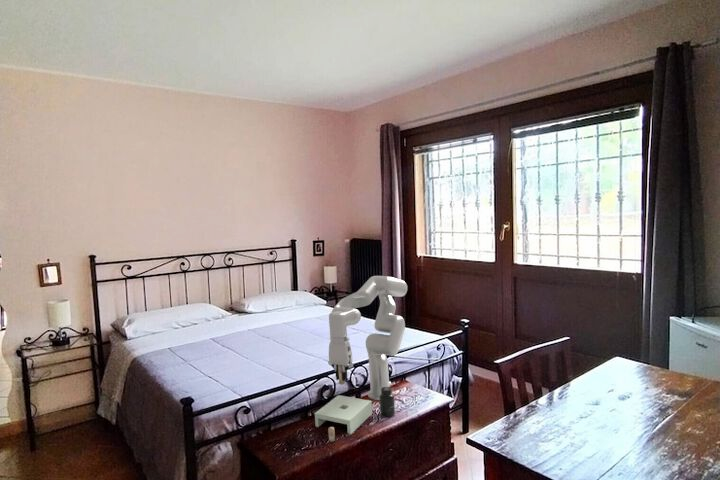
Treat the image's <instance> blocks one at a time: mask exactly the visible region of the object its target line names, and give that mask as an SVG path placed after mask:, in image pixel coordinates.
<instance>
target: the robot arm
mask: <svg viewBox="0 0 720 480" xmlns="http://www.w3.org/2000/svg"><path fill="white" fill-rule="evenodd" d="M407 292H408V284H407V282H405V280H403V279H399V278H396V277H393V276H388V275H385V276H384V275H373V276H370V277H369V278H368V279H367V281H365V283H364V284H363V285H362V286H361V287H360V288H359V289H358V290H357V291H356V292H353V293H351V294H349V295H347V296H345V297H343V298H341V300H339V301H338V303H336V305H334V307H333V308H332V310H331V312H330V313H329V314H328V325H329V337H330V341H329V344H328V345H329V346H328V361H327V362H328V365H329V366H331V367H332V369H333V371H334V372H335V380H336V381H339V373H338V365H342V370H343V372H342V381H346V380H348V370H349V369H351V368H353V367H354V363H353V361H354V360H353V353H352V347H351V344H350V337H348V331H347V330H348V329H347V327H349V326H355V325H356V324H358V323H359V322H360V320H361V319H362V313H361V312H360V310H359V309H357V308H362V307H366V306H369V305H371V303H372V302H373V301H374V300H375V299H376V298H377V296H378V298H379V307H378V311H377V313H376V318H375V321H374V329H375V330H376V331H377V332H379V333H376V332H375V333H371V334H368V336H367V337H366V339H365V348H366V351H367V355H368V356H367V357H368V368H369V381H370V384H369V385H370V390H369V391H368V392H367V396H368V398H369V399H371V400H374V401H380V399H379V397H380V395H381V394H382V393H381V388H383V387H390V386H391V385H392V382H391V380H390V376H389V361H388V358H387V356H392V357H393V356H396V355H397V354H398V352H399V350H400V348H401V345H402V340H403V337H404V334H405V329H406V323H405V318H403V316H401V315H397V314H396V310H397V305H396V302H395V300H394V298H393V297H398V298H399V297H404V296H406V294H407ZM382 333H383V334H382ZM384 333H385V334H384ZM388 334H389V335H388ZM390 388H391V387H390ZM392 394H393V395H394V392H393V391H392Z"/></svg>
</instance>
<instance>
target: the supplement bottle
mask: <svg viewBox="0 0 720 480" xmlns="http://www.w3.org/2000/svg"><path fill="white" fill-rule="evenodd" d="M392 392H393V390H392V387H383V388H381V393H382V394H381V395H380V397H379V399H380V400H379V412H380V416H382V417H384V418H391V417H394V416H395V415H396V409H395V408H396V407H395V405H396V403H395V395H394V393H393V394H392Z"/></svg>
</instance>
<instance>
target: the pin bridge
mask: <svg viewBox="0 0 720 480" xmlns="http://www.w3.org/2000/svg"><path fill="white" fill-rule="evenodd" d="M372 403H373V402H372V400H369V399H363V398H356V397H352V396H351V397H350V396H346V395H341V394H338V395H336V396H335V397H334V398H332V399H331V400H330V401H329V402H327V403H326V404H325V405H324V406H322V407H321V408H320V409H318V410H317V411H316V412H314V422H315V423H314V424H315V427H316V428H319V427H321V425H323V424H324V423H325V422H327V421H329V422H333V423H339V424H343V425H347V426H346V427H347V434H348V435H352V434H353V433H354V432H355V431H356V430H357V429H358V428H359V427H360V426H361V425H362V424H363V423H364V422H365V421H366V420H367V419H368V418H369V417H370V416H371V415H372V414H373V405H372Z"/></svg>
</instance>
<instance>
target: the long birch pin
mask: <svg viewBox="0 0 720 480" xmlns="http://www.w3.org/2000/svg"><path fill="white" fill-rule="evenodd" d="M342 372H343V370H342V365H338V373H339V380H338V384H339V385H341V386H343V385H345V384H346V383H345V381H346V380H345V381H342Z"/></svg>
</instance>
